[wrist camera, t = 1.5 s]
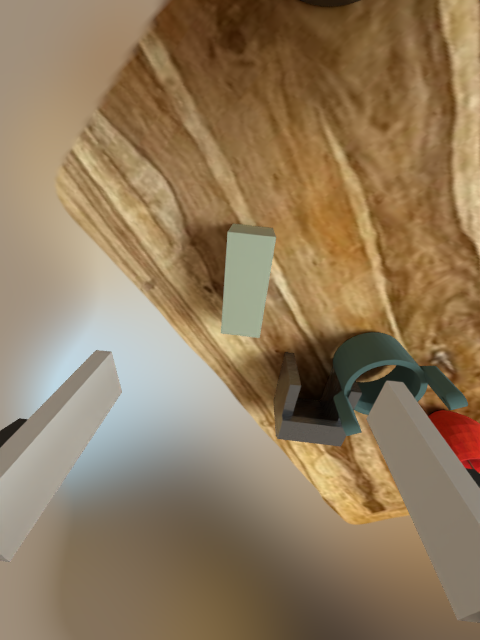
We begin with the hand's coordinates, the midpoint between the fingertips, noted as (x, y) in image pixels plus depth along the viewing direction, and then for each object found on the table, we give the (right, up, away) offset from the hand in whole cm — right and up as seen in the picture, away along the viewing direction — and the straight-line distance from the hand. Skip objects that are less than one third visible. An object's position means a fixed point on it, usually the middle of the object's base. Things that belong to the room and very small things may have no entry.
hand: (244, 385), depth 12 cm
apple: (+29, -11, +23) cm, 39 cm away
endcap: (+9, -5, +21) cm, 24 cm away
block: (+1, +8, +14) cm, 17 cm away
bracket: (+16, -2, +19) cm, 25 cm away
